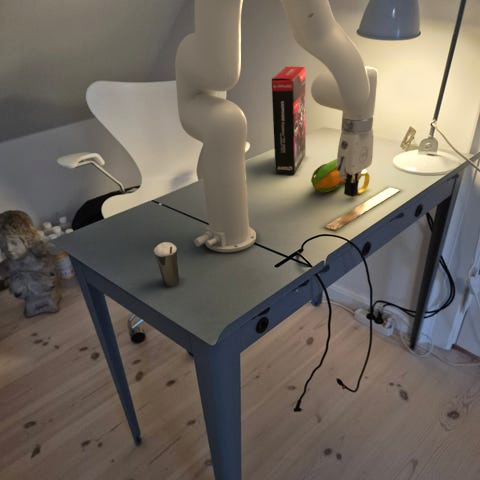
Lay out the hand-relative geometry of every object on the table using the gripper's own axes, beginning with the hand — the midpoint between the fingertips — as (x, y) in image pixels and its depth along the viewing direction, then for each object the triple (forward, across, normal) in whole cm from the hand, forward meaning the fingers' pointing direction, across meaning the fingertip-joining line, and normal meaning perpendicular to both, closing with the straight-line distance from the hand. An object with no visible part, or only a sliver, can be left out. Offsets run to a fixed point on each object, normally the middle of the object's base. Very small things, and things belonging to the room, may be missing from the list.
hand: (350, 194), depth 123 cm
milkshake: (+2, -58, +5) cm, 58 cm away
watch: (+1, +5, 0) cm, 5 cm away
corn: (+1, +5, +9) cm, 10 cm away
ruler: (+1, -3, -6) cm, 7 cm away
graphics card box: (+1, +10, +30) cm, 32 cm away
